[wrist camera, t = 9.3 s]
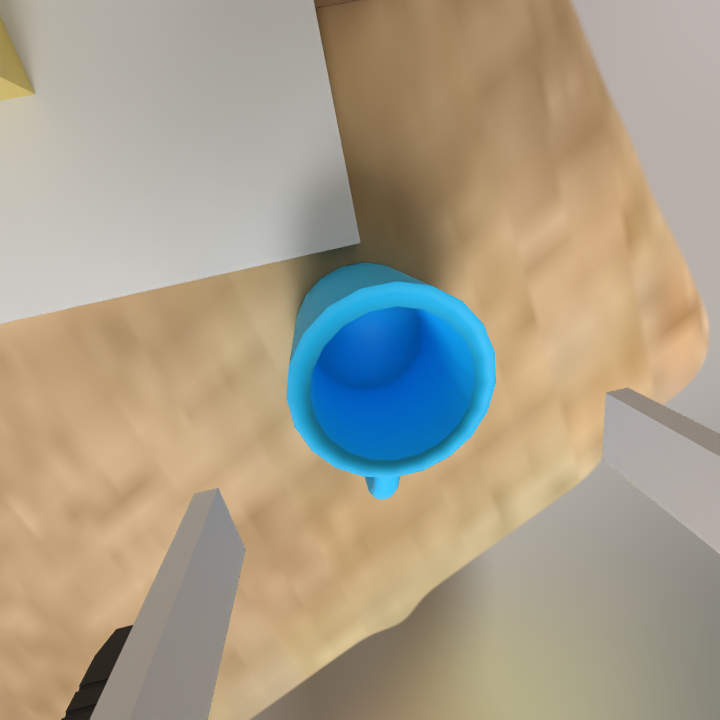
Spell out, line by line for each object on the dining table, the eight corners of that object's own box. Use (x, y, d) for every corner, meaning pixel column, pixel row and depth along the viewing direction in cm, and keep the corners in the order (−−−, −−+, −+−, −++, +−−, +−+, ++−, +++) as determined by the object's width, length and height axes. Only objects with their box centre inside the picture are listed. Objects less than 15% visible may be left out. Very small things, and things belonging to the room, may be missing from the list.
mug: (289, 264, 19) (275, 285, 12) (433, 259, 20) (509, 277, 12) (305, 450, 23) (302, 557, 16) (424, 439, 24) (476, 535, 17)
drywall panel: (-161, 358, 18) (-193, 366, 17) (-542, -112, 12) (-633, -148, 10) (410, 230, 19) (417, 230, 18) (343, -245, 13) (346, -289, 12)
